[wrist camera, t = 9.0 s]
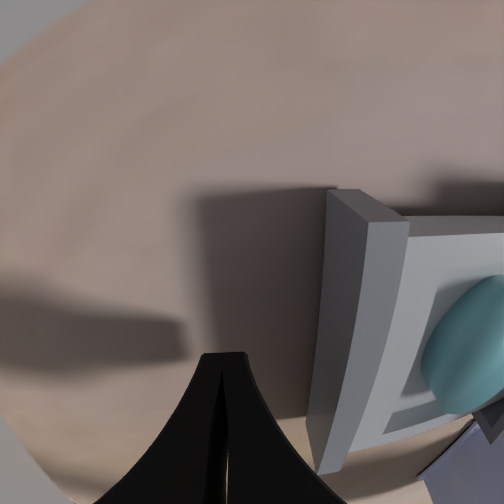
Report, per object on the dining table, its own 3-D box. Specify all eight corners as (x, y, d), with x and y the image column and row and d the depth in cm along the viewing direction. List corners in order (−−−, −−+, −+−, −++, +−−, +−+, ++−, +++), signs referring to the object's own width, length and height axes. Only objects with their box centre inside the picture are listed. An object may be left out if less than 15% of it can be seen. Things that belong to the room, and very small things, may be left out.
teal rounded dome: (398, 392, 10) (415, 424, 9) (459, 268, 8) (492, 296, 7) (482, 377, 11) (498, 401, 9) (534, 278, 9) (559, 298, 7)
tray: (490, 373, 13) (513, 405, 11) (305, 423, 13) (316, 475, 10) (549, 199, 9) (593, 221, 6) (326, 189, 9) (368, 222, 6)
